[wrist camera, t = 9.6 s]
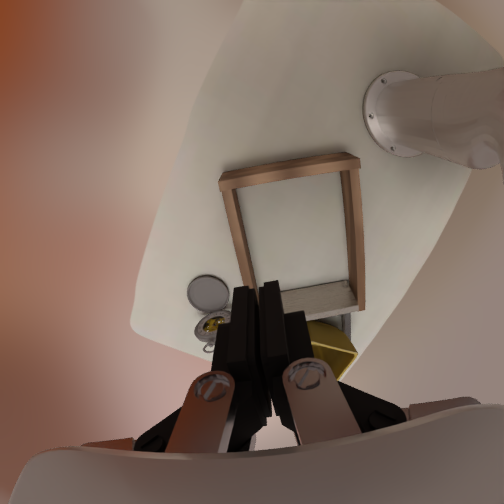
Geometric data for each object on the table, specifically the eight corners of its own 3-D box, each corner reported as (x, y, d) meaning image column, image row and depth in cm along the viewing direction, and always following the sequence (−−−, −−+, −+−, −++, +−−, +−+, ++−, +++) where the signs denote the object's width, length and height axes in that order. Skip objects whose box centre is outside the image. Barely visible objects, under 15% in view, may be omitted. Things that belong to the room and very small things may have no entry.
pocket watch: (201, 266, 47) (190, 304, 38) (246, 294, 49) (245, 335, 40) (176, 301, 50) (162, 341, 41) (218, 326, 52) (212, 368, 43)
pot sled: (346, 280, 48) (358, 305, 41) (348, 348, 54) (357, 375, 47) (261, 295, 49) (262, 322, 42) (275, 361, 55) (277, 389, 49)
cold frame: (345, 152, 40) (359, 158, 34) (356, 292, 49) (367, 313, 44) (222, 172, 41) (218, 181, 36) (254, 310, 50) (254, 333, 45)
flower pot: (301, 305, 50) (309, 341, 42) (346, 318, 51) (359, 353, 43) (280, 343, 54) (283, 380, 45) (322, 354, 55) (331, 390, 47)
